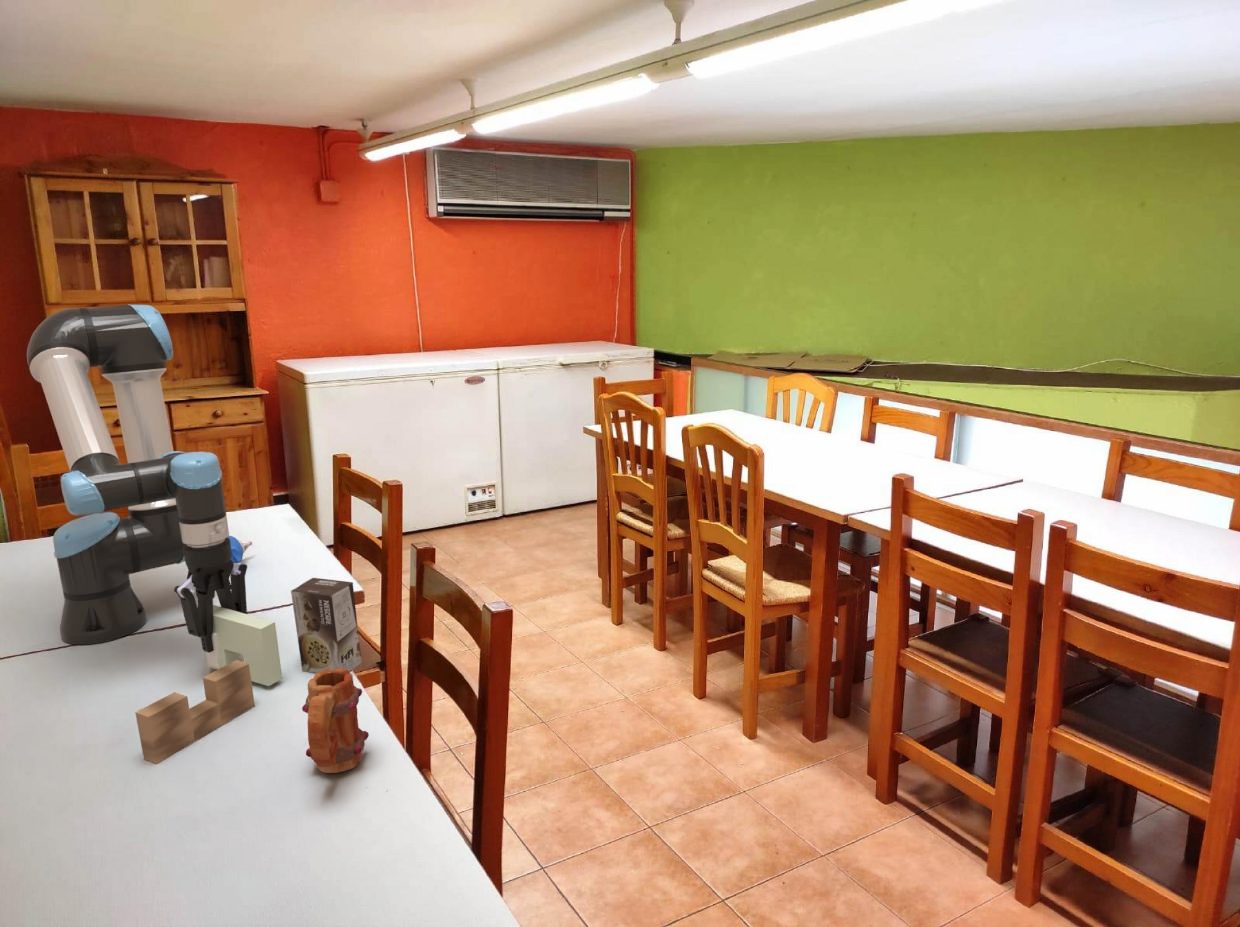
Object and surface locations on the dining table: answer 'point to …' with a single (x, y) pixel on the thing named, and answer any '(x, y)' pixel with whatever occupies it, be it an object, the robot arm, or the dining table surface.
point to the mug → (334, 721)
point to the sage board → (248, 643)
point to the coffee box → (326, 625)
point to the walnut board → (194, 712)
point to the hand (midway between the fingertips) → (224, 660)
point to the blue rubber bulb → (238, 549)
